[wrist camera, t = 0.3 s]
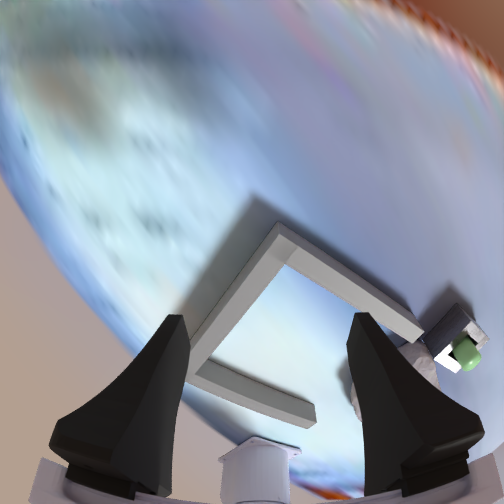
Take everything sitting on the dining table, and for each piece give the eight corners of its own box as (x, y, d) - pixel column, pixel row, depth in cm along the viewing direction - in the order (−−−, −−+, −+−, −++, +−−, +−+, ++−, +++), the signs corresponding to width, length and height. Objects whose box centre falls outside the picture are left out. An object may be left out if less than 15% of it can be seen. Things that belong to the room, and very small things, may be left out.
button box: (444, 354, 27) (455, 373, 24) (422, 339, 26) (433, 359, 23) (476, 322, 25) (489, 339, 22) (456, 302, 24) (471, 320, 21)
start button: (452, 347, 25) (468, 373, 21) (442, 340, 25) (459, 367, 21) (466, 332, 24) (484, 357, 21) (457, 324, 24) (476, 350, 20)
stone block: (369, 410, 34) (441, 386, 29) (369, 441, 29) (448, 417, 25) (335, 359, 30) (424, 326, 26) (333, 395, 26) (434, 362, 22)
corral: (305, 411, 30) (307, 429, 28) (178, 356, 27) (172, 375, 25) (413, 315, 25) (424, 331, 22) (277, 221, 21) (279, 234, 19)
